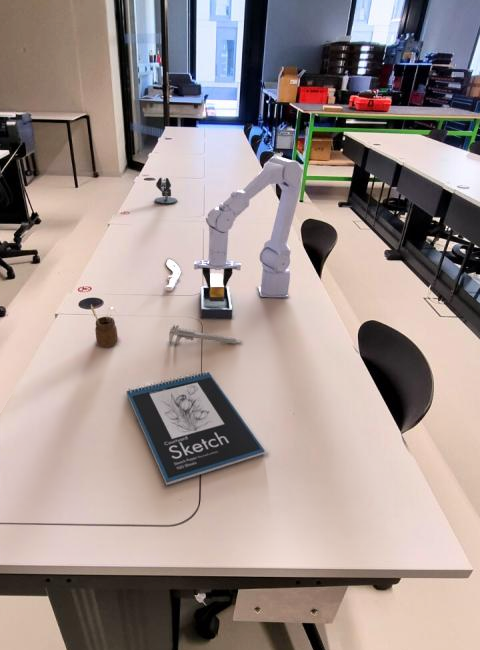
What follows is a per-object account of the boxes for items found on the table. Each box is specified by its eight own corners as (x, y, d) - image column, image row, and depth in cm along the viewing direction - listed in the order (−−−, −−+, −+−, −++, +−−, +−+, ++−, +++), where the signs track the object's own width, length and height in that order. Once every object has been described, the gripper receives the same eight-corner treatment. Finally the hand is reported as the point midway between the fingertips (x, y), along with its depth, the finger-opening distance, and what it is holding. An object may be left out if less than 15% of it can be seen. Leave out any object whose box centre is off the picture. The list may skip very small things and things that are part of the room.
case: (228, 295, 152) (228, 286, 151) (231, 318, 139) (232, 309, 137) (200, 294, 152) (200, 286, 150) (201, 318, 138) (201, 309, 137)
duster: (222, 286, 147) (222, 273, 145) (224, 301, 138) (224, 287, 136) (208, 286, 147) (209, 273, 144) (209, 301, 138) (210, 287, 135)
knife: (168, 256, 178) (187, 258, 177) (168, 260, 178) (187, 262, 178) (150, 285, 152) (172, 287, 152) (150, 290, 153) (172, 291, 152)
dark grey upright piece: (152, 207, 237) (151, 182, 230) (155, 198, 254) (155, 174, 247) (176, 208, 238) (175, 183, 231) (177, 198, 254) (177, 175, 247)
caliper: (169, 345, 125) (168, 326, 122) (169, 343, 126) (168, 324, 122) (240, 343, 127) (241, 325, 123) (239, 341, 128) (241, 323, 124)
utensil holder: (118, 347, 123) (114, 309, 116) (95, 348, 122) (90, 310, 116) (118, 336, 128) (114, 299, 121) (96, 337, 127) (91, 300, 120)
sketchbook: (166, 486, 84) (166, 479, 83) (125, 394, 106) (125, 387, 105) (264, 454, 91) (265, 447, 90) (207, 374, 114) (207, 367, 113)
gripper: (194, 253, 131) (193, 294, 138) (242, 254, 131) (239, 295, 139) (194, 245, 137) (193, 285, 144) (240, 246, 137) (237, 286, 145)
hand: (216, 289), depth 142 cm, fingers closed on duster, 4 cm apart
